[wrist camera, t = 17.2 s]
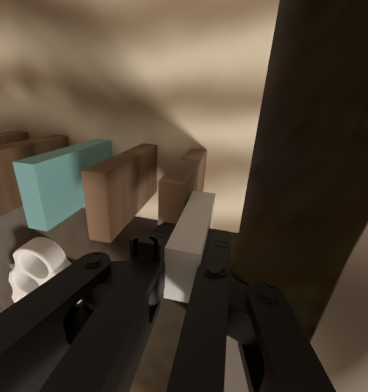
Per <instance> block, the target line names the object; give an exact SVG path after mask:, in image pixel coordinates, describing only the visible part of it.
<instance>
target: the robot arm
mask: <svg viewBox="0 0 368 392" xmlns="http://www.w3.org/2000/svg"><path fill="white" fill-rule="evenodd" d="M215 196H216V193H209V192H201V191H193V192H192V194H191V196H190V198H189V200H188V202H187V204H186V206H185V208H184V210H183V212H182V214H181V216H180V218H179V220H178V222H177V224H175V223H168V222H163V223H162V224H160V225H158V226H157V228H156V229H155V231H154V232H153V234H152V235H151V234H142V235H138V236H135V237H133V238H132V239H131V240H130V250H131V257H130V258H129V260H126V261H111V260H110V257H109V255H107V254H106V253H102V252H93V253H89V254H86V255H84V256H82V257H81V258H79V259H78V260H76V261H75V262H74V263H72V264H71V265H69V266H68V267H66V268H65V269H63V270H62V271H61V272H59V273H58V274H56V275H55V276H53V277H52V278H50V279H49V280H48V281H46V282H45V283H43V284H42V285H40V286H39V287H37V288H36V289H34V290H33V291H32V292H30V293H29V294H27V295H26V296H24V297H23V298H21V299H20V300H19V301H17V302H16V303H14V304H13V305H11V306H10V307H8V308H7V309H6V310H4V311H3V312H1V313H0V392H129V390H130V387H131V385H132V382H133V379H134V376H135V374H136V371H137V368H138V366H139V363H140V360H141V358H142V355H143V352H144V350H145V347H146V344H147V342H148V339H149V336H150V334H151V331H152V328H153V325H154V323H155V320H156V317H157V315H158V312H159V309H160V304H161V296H162V293H163V291H164V298H167V299H171V300H176V301H181V302H185V303H188V307H187V311H186V315H185V319H184V323H183V327H182V331H181V335H180V339H179V343H178V347H177V351H176V355H175V359H174V363H173V367H172V371H171V375H170V379H169V383H168V387H167V391H166V392H224V381H225V362H226V342H227V336H229V337H231V338H233V339H234V340H236V341H238V348H239V352H240V356H241V360H242V364H243V369H244V373H245V377H246V381H247V385H248V390H249V392H336V391H335V389H334V387H333V385H332V383H331V381H330V380H329V377H328V376H327V374H326V372H325V370H324V368H323V366H322V364H321V363H320V361H319V359H318V357H317V355H316V353H315V351H314V349H313V348H312V346H311V344H310V342H309V340H308V338H307V336H306V334H305V333H304V331H303V329H302V327H301V325H300V323H299V321H298V319H297V318H296V316H295V314H294V312H293V310H292V308H291V306H290V304H289V303H288V301H287V299H286V297H285V295H284V294H283V293H282V291H281V290H280V289H278V288H277V287H276V286H274V285H272V284H269V283H266V282H254V283H253V284H251V285H250V286H247V285H245V284H243V283H241V282H239V281H238V280H236V279H235V278H234V277H233V276H232V275H231V273H230V270H229V263H230V245H231V236H230V234H229V233H228V231H224V230H218V229H212V223H213V214H214V205H215ZM81 299H82V301H80V300H81ZM79 301H80V302H79ZM78 302H79V303H78ZM77 303H78V304H77Z"/></svg>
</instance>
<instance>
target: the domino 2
mask: <svg viewBox="0 0 368 392" xmlns="http://www.w3.org/2000/svg"><path fill="white" fill-rule="evenodd" d="M111 157H112V142H111V140H106V139H94V140H90V141H87V142H83V143H79V144H76V145H72V146H68V147H65V148H61V149H58V150H54V151H50V152H47V153H43V154H39V155H36V156H32V157H28V158H25V159H21V160H17V161H14V162H13V167H14V171H15V175H16V179H17V183H18V187H19V191H20V195H21V199H22V203H23V207H24V211H25V215H26V219H27V224H28V228H32V229H37V230H43V231H49V230H50V229H52V228H53V227H55V226H56V225H57V224H59V223H60V222H62V221H63V220H65V219H66V218H68V217H69V216H71V215H72V214H73V213H75V212H76V211H78V210H79V209H81V208H82V207H84V206H85V200H84V192H83V184H82V177H81V171H82V170H84V169H86V168H88V167H91V166H93V165H95V164H97V163H100V162H102V161H104V160H106V159H109V158H111Z"/></svg>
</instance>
